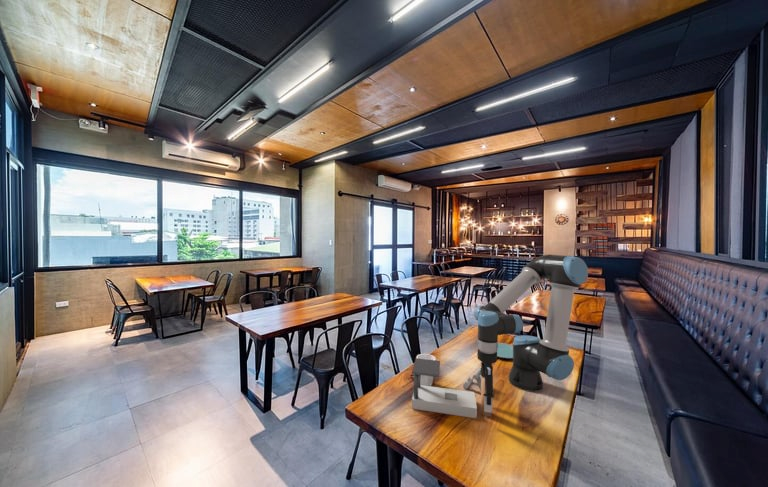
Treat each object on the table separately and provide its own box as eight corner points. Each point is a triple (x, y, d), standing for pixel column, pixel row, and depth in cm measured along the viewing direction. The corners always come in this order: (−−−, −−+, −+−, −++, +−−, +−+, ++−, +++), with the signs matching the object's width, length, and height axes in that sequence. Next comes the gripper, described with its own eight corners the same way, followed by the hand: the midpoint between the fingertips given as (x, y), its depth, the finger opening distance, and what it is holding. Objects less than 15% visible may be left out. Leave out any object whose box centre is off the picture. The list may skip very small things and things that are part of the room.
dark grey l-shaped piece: (439, 387, 127) (440, 360, 127) (438, 403, 114) (438, 374, 114) (415, 383, 129) (415, 358, 129) (411, 399, 117) (412, 371, 116)
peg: (490, 411, 116) (491, 378, 115) (491, 417, 112) (492, 383, 112) (480, 410, 117) (481, 377, 116) (481, 416, 113) (482, 381, 112)
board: (474, 401, 123) (474, 392, 123) (476, 418, 111) (476, 408, 111) (415, 392, 129) (415, 384, 129) (411, 408, 117) (411, 399, 117)
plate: (528, 362, 162) (529, 357, 162) (490, 361, 163) (490, 356, 163) (512, 346, 185) (512, 342, 184) (478, 346, 185) (478, 342, 185)
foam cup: (435, 390, 131) (435, 363, 131) (415, 388, 133) (415, 361, 133) (435, 380, 141) (435, 354, 140) (417, 378, 142) (417, 353, 142)
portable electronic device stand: (469, 381, 140) (469, 364, 140) (485, 386, 136) (485, 369, 135) (463, 388, 133) (463, 371, 133) (479, 394, 129) (480, 376, 128)
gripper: (475, 338, 127) (473, 384, 127) (480, 362, 102) (479, 419, 103) (492, 340, 125) (491, 386, 125) (502, 365, 101) (501, 422, 101)
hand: (486, 401), depth 114 cm, fingers open, 13 cm apart
